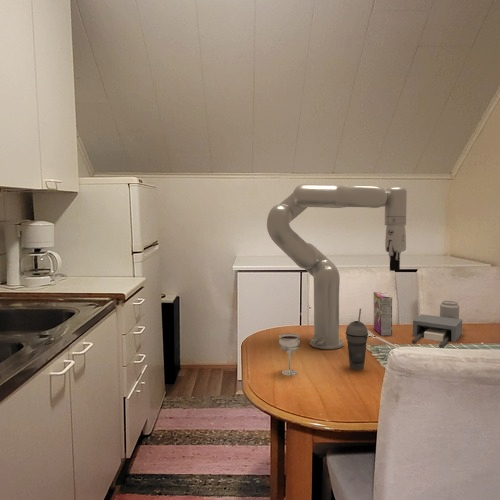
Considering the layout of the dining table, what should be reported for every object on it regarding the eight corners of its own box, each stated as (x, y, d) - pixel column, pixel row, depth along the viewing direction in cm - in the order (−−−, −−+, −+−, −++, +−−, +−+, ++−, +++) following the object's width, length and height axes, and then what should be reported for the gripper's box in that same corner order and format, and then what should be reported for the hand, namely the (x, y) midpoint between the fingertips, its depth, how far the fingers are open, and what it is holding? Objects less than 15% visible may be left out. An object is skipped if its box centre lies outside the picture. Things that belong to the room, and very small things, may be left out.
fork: (396, 351, 156) (396, 346, 155) (363, 335, 174) (363, 331, 174) (403, 350, 157) (403, 345, 156) (369, 334, 175) (370, 330, 175)
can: (440, 330, 177) (441, 303, 176) (438, 326, 184) (439, 299, 183) (460, 332, 175) (461, 304, 174) (457, 327, 182) (457, 300, 181)
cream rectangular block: (442, 342, 163) (442, 335, 163) (423, 340, 167) (423, 332, 167) (448, 336, 171) (448, 329, 171) (430, 333, 175) (430, 326, 175)
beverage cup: (351, 362, 143) (351, 304, 141) (371, 366, 138) (372, 307, 137) (341, 368, 137) (341, 308, 136) (362, 373, 133) (362, 311, 131)
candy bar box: (372, 328, 183) (373, 291, 181) (384, 328, 183) (384, 291, 181) (380, 336, 172) (380, 296, 170) (392, 336, 171) (392, 296, 170)
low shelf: (449, 349, 154) (450, 332, 153) (405, 341, 164) (405, 326, 163) (461, 334, 172) (462, 319, 171) (421, 328, 181) (421, 314, 181)
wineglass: (274, 372, 135) (274, 336, 134) (288, 367, 140) (288, 331, 138) (291, 378, 130) (290, 340, 129) (304, 372, 135) (304, 336, 134)
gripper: (399, 221, 146) (398, 274, 148) (411, 220, 158) (410, 268, 159) (378, 221, 150) (377, 272, 152) (391, 220, 162) (391, 267, 164)
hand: (394, 270), depth 156 cm, fingers closed
